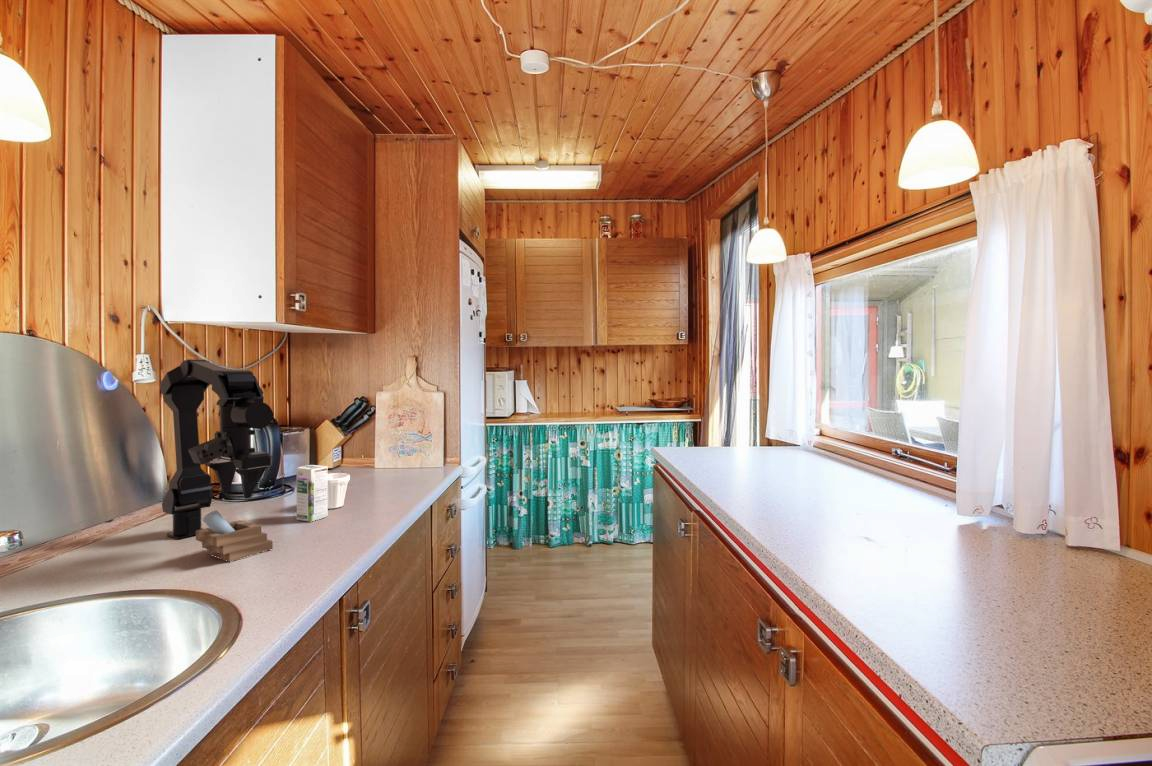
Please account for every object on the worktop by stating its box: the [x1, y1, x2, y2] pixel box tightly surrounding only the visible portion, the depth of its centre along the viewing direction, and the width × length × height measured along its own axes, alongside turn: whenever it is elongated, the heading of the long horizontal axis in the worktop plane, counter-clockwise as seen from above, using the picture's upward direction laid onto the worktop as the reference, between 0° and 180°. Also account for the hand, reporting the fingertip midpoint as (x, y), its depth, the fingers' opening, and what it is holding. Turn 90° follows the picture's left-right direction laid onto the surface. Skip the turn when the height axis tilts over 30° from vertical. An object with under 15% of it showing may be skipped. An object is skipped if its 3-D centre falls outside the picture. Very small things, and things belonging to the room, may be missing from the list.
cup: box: [328, 472, 351, 510], centre depth 153 cm, size 10×10×9 cm
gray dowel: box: [202, 510, 235, 534], centre depth 112 cm, size 3×3×10 cm
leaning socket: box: [195, 520, 274, 562], centre depth 114 cm, size 9×11×6 cm
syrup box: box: [296, 464, 329, 523], centre depth 141 cm, size 6×6×14 cm
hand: (236, 495), depth 115 cm, fingers open, 9 cm apart
